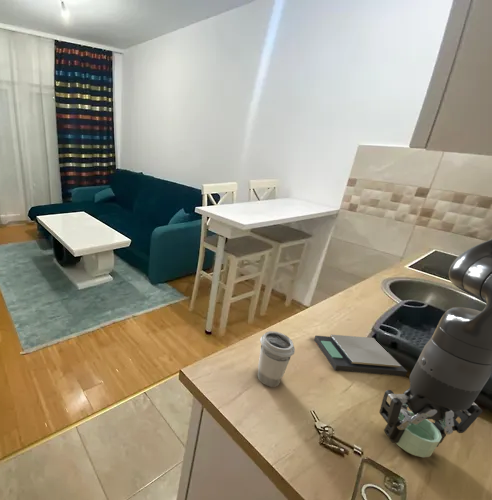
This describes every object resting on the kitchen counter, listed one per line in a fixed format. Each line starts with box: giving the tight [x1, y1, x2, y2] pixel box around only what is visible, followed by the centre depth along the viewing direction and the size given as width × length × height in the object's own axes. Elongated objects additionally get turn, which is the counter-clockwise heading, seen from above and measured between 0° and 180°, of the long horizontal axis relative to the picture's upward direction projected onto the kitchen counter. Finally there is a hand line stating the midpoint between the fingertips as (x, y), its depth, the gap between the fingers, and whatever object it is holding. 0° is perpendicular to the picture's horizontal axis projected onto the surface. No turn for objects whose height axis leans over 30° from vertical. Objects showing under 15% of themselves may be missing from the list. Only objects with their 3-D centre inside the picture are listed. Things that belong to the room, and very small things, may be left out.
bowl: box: [395, 410, 442, 458], centre depth 52 cm, size 6×6×4 cm
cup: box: [257, 330, 296, 388], centre depth 65 cm, size 7×7×12 cm
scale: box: [313, 335, 408, 377], centre depth 74 cm, size 16×11×3 cm
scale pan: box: [329, 334, 402, 367], centre depth 73 cm, size 11×10×1 cm
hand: (410, 439), depth 53 cm, fingers closed on bowl, 6 cm apart
